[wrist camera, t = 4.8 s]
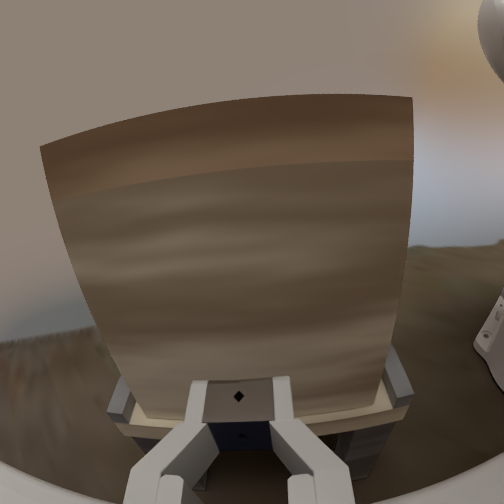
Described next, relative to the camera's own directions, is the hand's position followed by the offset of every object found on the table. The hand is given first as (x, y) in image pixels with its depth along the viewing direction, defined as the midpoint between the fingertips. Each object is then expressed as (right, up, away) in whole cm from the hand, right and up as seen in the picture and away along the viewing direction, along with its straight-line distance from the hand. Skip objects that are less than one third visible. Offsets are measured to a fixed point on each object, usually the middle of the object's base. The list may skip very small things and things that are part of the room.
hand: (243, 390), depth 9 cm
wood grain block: (+1, -1, +10) cm, 10 cm away
